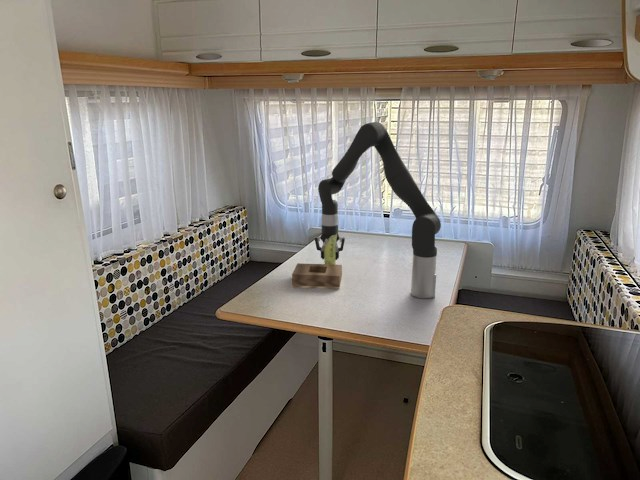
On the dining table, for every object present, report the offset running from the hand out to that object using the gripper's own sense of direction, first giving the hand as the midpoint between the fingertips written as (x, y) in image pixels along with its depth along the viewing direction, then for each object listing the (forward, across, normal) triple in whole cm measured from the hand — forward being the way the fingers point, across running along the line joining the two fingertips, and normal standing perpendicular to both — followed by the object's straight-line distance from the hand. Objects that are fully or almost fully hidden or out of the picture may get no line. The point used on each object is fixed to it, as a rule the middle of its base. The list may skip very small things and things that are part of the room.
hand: (329, 259), depth 218 cm
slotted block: (+6, -4, -13) cm, 15 cm away
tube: (+7, 0, 0) cm, 7 cm away
